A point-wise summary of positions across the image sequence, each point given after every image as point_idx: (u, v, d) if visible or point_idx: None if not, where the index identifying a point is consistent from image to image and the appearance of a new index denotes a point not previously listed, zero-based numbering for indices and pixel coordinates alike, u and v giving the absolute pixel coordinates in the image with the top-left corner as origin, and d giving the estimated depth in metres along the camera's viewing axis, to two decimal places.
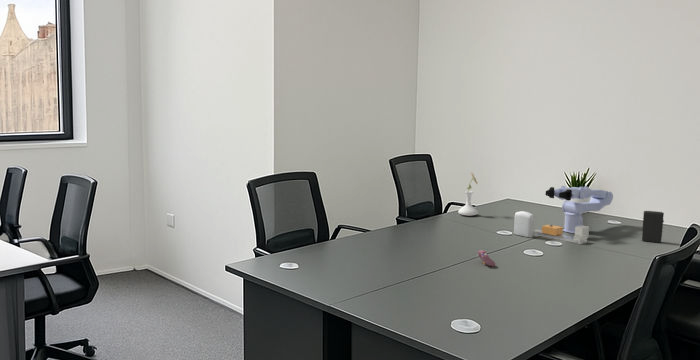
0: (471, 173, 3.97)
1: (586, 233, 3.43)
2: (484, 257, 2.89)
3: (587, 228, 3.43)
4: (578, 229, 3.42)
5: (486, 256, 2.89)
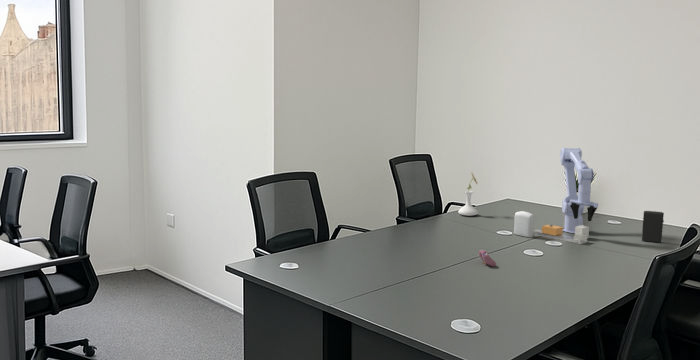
0: (471, 173, 3.97)
1: (586, 233, 3.43)
2: (485, 257, 2.89)
3: (587, 228, 3.43)
4: (578, 229, 3.42)
5: (487, 256, 2.89)
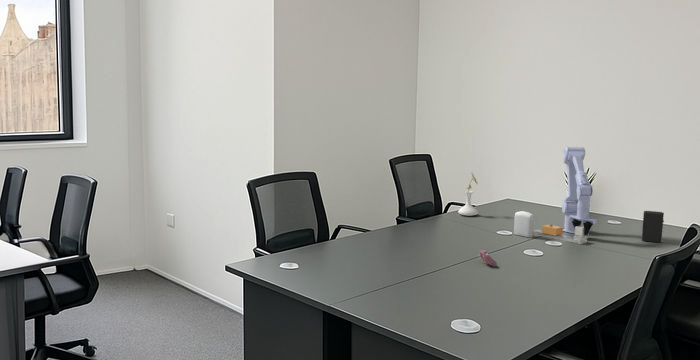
0: (471, 173, 3.97)
1: None
2: (486, 257, 2.89)
3: None
4: (578, 229, 3.42)
5: (488, 256, 2.89)
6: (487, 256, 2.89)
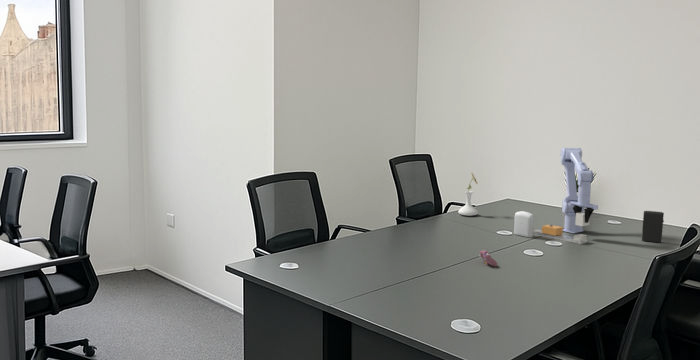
0: (471, 173, 3.97)
1: None
2: (486, 257, 2.89)
3: None
4: (578, 215, 3.40)
5: (488, 256, 2.89)
6: (488, 256, 2.89)
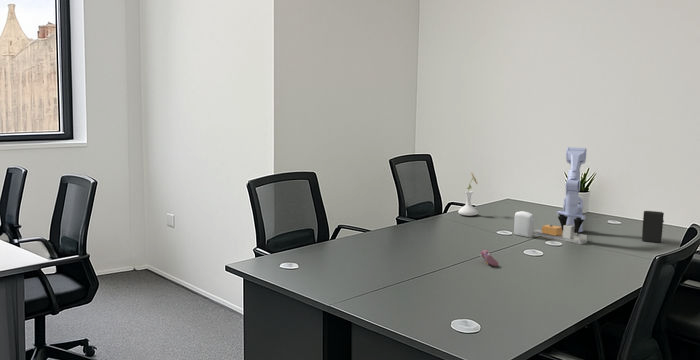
0: (471, 173, 3.97)
1: (574, 232, 3.38)
2: (487, 257, 2.89)
3: None
4: (566, 227, 3.37)
5: (489, 256, 2.89)
6: (489, 256, 2.89)
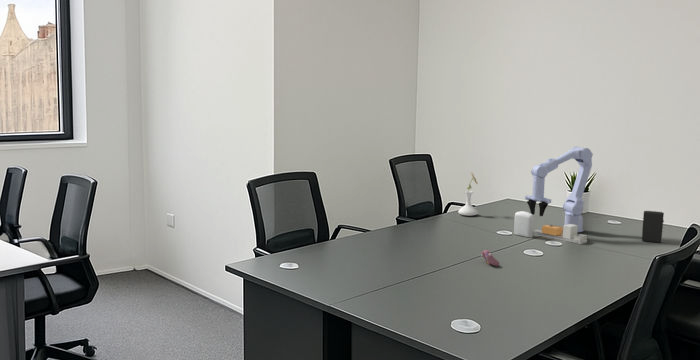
0: (471, 173, 3.97)
1: (574, 232, 3.38)
2: (488, 257, 2.89)
3: (575, 227, 3.38)
4: (566, 227, 3.37)
5: (490, 256, 2.89)
6: (490, 256, 2.89)
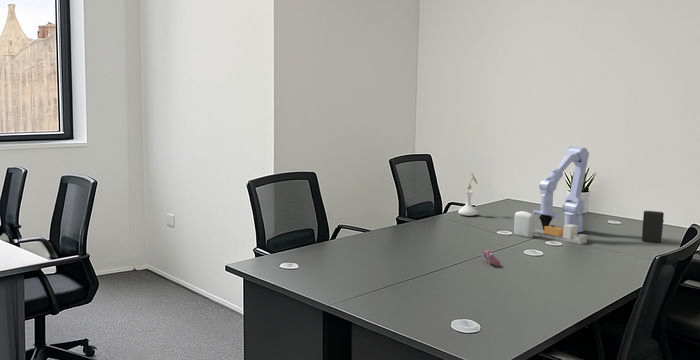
0: (471, 173, 3.97)
1: (574, 232, 3.38)
2: (489, 257, 2.89)
3: (575, 227, 3.38)
4: (566, 227, 3.37)
5: (491, 256, 2.89)
6: (491, 256, 2.89)
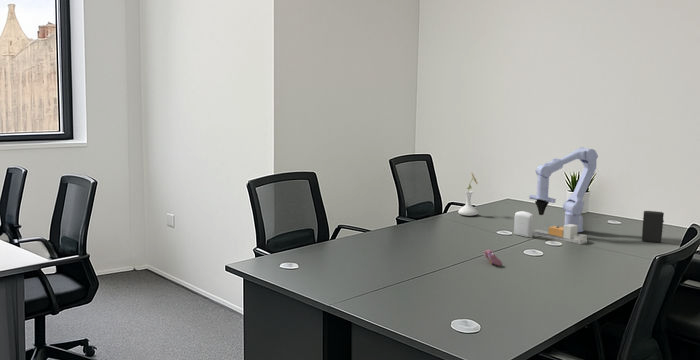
0: (471, 173, 3.97)
1: (574, 232, 3.38)
2: (491, 257, 2.89)
3: (575, 227, 3.38)
4: (566, 227, 3.37)
5: (493, 255, 2.90)
6: (493, 256, 2.90)
